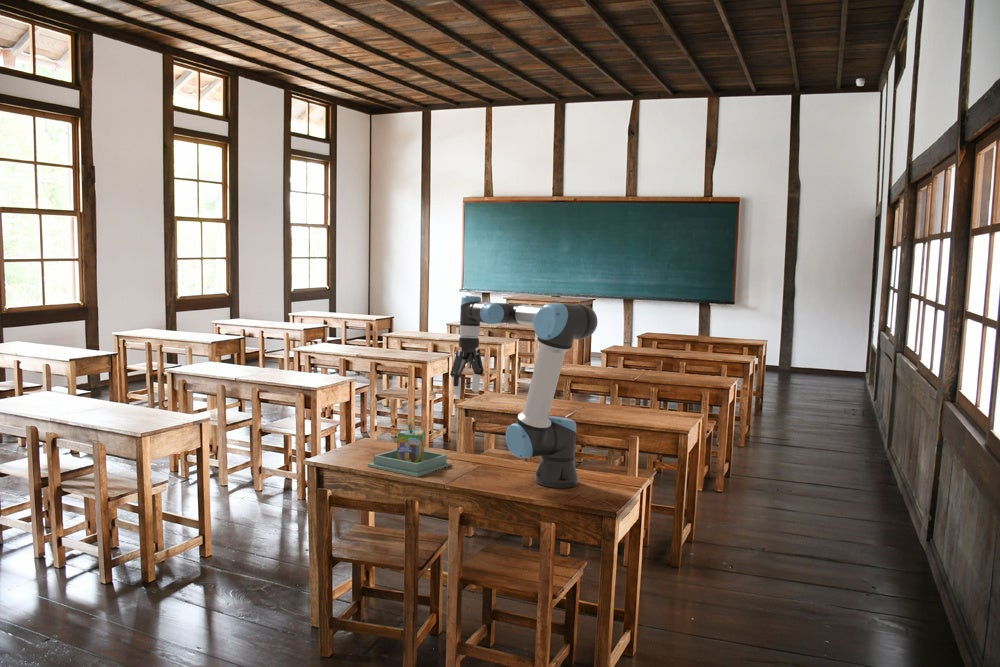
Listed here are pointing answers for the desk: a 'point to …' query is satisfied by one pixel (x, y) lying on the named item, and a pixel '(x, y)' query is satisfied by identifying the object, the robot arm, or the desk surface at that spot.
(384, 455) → the chalk holder
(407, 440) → the chalk box
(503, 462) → the desk surface
